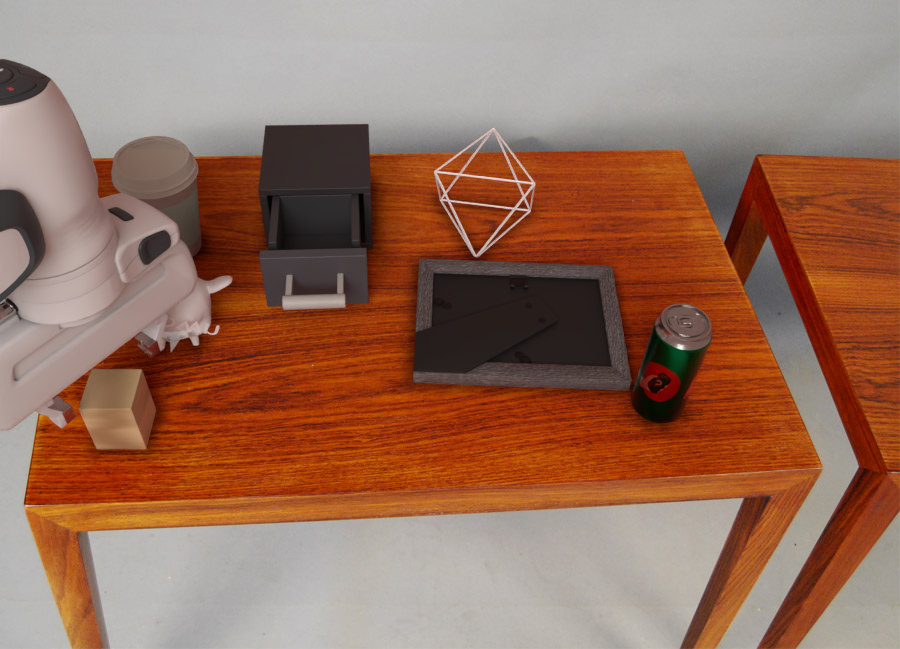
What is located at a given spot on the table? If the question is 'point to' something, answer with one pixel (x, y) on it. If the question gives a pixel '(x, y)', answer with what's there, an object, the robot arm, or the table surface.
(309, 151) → the dark grey box
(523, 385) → the picture frame
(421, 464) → the table surface
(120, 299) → the robot arm
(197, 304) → the figurine
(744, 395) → the table surface
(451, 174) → the geometric polyhedron
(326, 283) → the open drawer with handle
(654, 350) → the soda can
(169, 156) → the coffee cup
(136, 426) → the block
